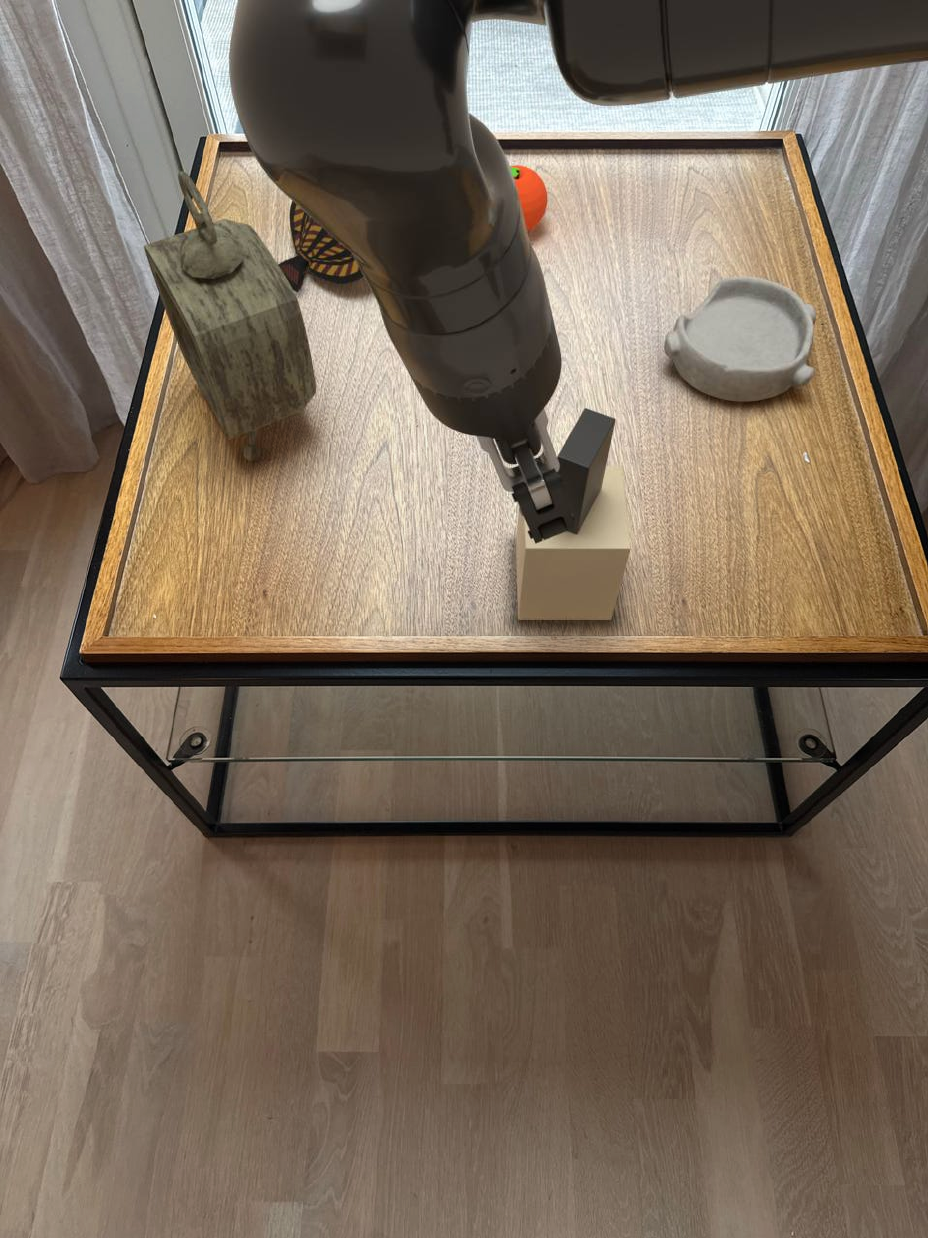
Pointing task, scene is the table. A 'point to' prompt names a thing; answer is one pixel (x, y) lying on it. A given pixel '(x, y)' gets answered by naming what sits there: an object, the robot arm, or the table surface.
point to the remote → (585, 462)
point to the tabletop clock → (234, 321)
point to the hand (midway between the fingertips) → (525, 467)
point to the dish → (745, 341)
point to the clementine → (530, 194)
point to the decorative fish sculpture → (317, 253)
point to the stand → (576, 561)
